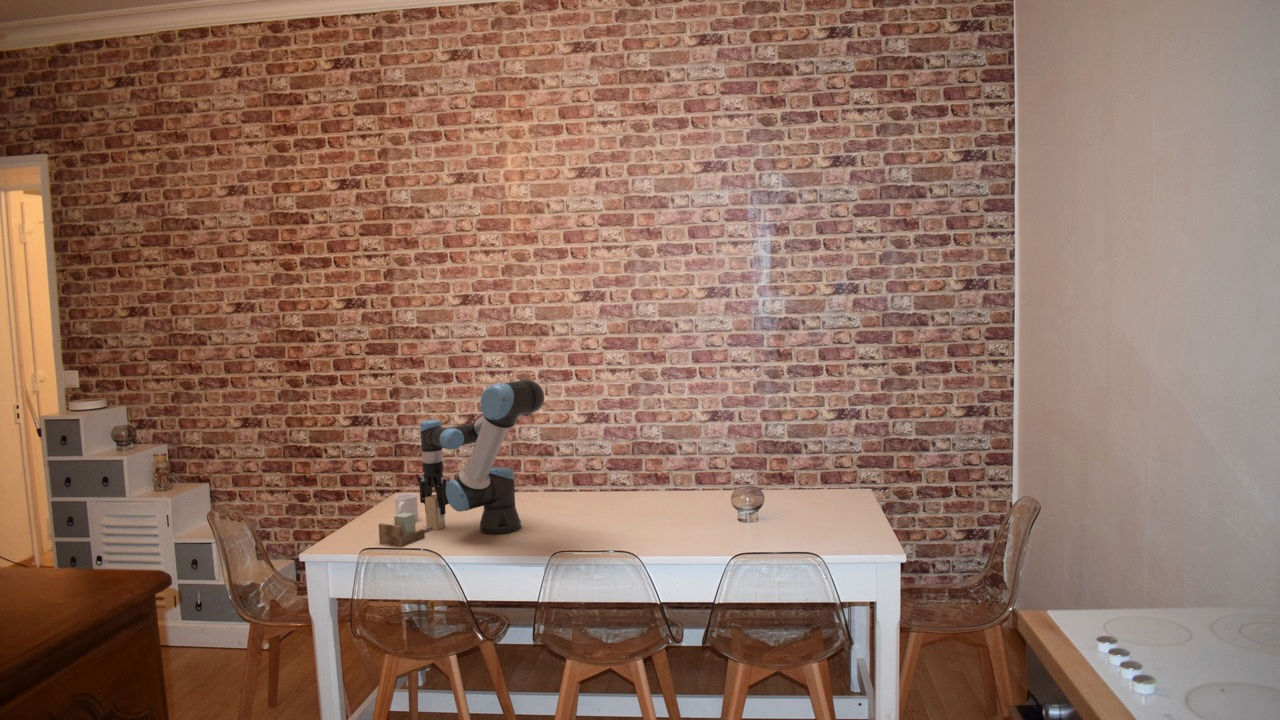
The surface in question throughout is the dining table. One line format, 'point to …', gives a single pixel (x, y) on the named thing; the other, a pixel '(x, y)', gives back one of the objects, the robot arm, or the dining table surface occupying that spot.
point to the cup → (406, 504)
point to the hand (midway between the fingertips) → (435, 522)
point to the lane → (397, 535)
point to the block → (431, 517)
